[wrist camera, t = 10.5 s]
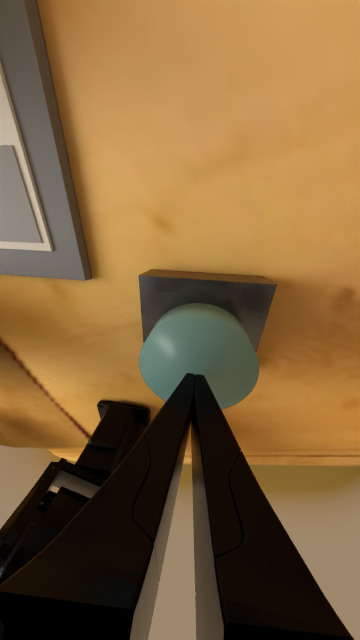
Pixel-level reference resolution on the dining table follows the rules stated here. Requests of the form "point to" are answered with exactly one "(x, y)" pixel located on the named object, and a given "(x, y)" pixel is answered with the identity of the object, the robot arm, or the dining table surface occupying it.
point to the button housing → (206, 297)
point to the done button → (200, 353)
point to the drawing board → (34, 158)
